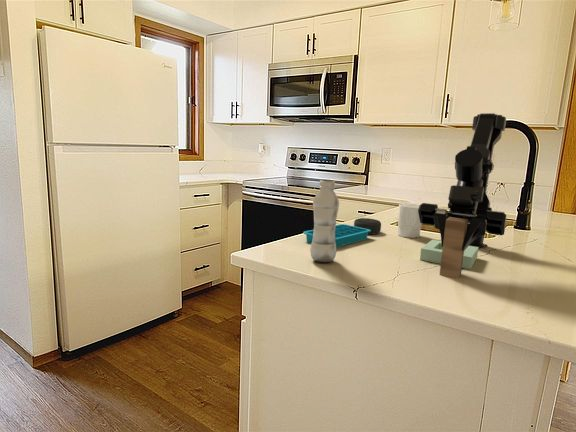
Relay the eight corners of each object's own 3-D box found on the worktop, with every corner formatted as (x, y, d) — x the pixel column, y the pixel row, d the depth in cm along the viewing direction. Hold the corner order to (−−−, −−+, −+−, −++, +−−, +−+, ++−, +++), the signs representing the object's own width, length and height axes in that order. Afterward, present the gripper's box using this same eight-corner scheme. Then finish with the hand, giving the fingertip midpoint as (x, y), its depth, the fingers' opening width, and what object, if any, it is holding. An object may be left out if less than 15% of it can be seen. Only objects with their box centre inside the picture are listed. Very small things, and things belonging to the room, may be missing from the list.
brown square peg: (443, 270, 94) (449, 216, 91) (461, 273, 92) (468, 219, 89) (439, 274, 91) (446, 219, 88) (458, 278, 88) (465, 222, 86)
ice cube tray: (300, 241, 116) (301, 232, 116) (341, 232, 130) (342, 223, 130) (331, 250, 108) (332, 240, 108) (372, 239, 122) (372, 230, 122)
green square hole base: (430, 249, 112) (432, 239, 111) (477, 258, 105) (478, 247, 105) (419, 259, 102) (421, 248, 101) (470, 269, 95) (471, 257, 95)
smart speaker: (370, 228, 138) (371, 217, 137) (385, 234, 130) (386, 222, 129) (348, 229, 134) (349, 218, 133) (363, 235, 126) (364, 223, 125)
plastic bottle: (338, 259, 99) (343, 180, 96) (332, 266, 93) (337, 182, 89) (313, 255, 101) (317, 178, 98) (306, 263, 95) (310, 180, 91)
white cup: (422, 239, 124) (426, 208, 122) (396, 237, 125) (399, 206, 124) (419, 233, 132) (422, 204, 130) (395, 231, 133) (398, 202, 131)
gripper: (424, 169, 95) (406, 221, 88) (512, 176, 85) (500, 234, 78) (428, 198, 103) (412, 247, 96) (509, 207, 93) (498, 263, 86)
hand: (452, 247), depth 89 cm, fingers closed on brown square peg, 4 cm apart
